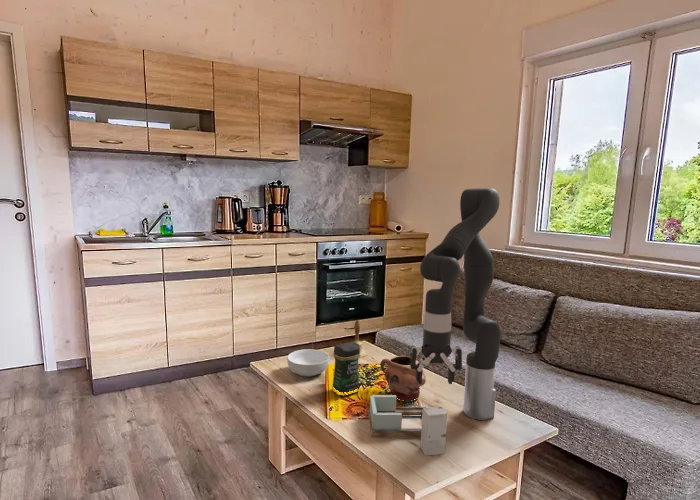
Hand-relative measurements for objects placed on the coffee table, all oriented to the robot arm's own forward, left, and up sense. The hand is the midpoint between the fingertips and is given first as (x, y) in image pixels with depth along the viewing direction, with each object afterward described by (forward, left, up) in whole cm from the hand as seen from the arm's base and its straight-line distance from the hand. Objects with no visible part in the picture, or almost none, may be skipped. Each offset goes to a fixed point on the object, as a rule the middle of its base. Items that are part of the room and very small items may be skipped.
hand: (434, 382), depth 121 cm
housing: (+12, -14, -18) cm, 26 cm away
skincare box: (0, 0, -20) cm, 20 cm away
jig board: (+7, -14, -20) cm, 25 cm away
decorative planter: (+4, -34, -20) cm, 40 cm away
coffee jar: (+24, -37, -20) cm, 48 cm away
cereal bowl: (+39, -54, -20) cm, 69 cm away
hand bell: (+18, -75, -20) cm, 79 cm away
